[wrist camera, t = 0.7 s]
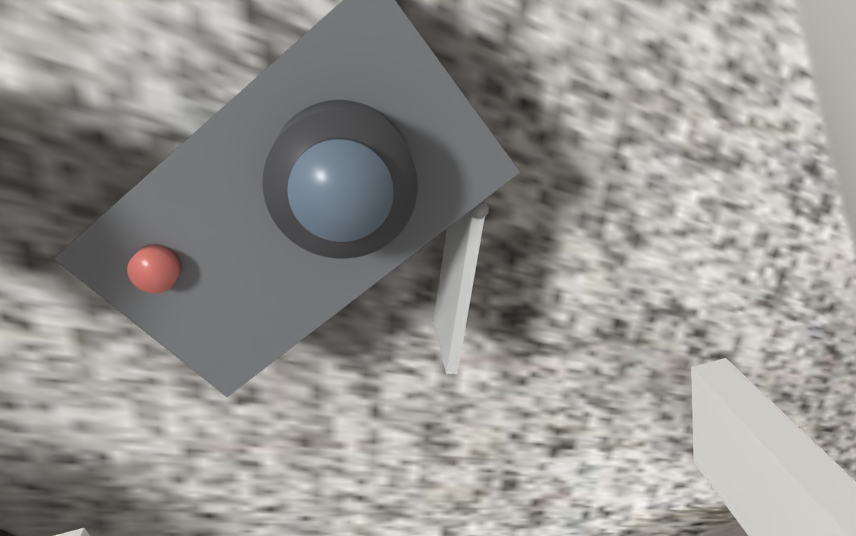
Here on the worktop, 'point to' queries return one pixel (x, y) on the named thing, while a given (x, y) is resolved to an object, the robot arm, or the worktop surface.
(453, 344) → the side door
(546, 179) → the worktop surface
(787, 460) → the robot arm
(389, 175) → the camera body
